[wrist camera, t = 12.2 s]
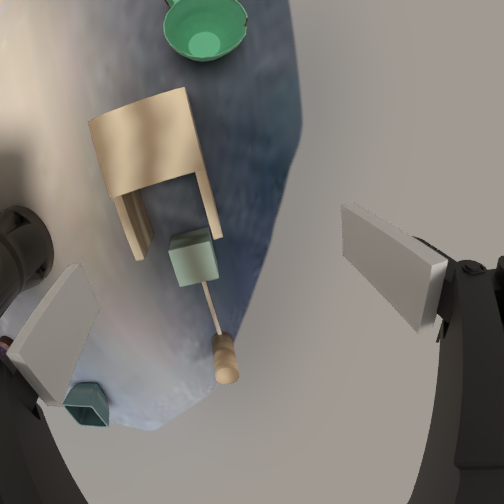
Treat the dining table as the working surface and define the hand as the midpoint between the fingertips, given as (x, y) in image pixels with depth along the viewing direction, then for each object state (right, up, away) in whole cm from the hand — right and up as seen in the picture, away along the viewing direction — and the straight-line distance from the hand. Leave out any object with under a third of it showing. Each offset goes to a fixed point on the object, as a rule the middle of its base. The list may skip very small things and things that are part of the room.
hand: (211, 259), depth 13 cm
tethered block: (-6, -8, +37) cm, 38 cm away
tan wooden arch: (-11, +12, +27) cm, 31 cm away
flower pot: (-37, -33, +42) cm, 65 cm away
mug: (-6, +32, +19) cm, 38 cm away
